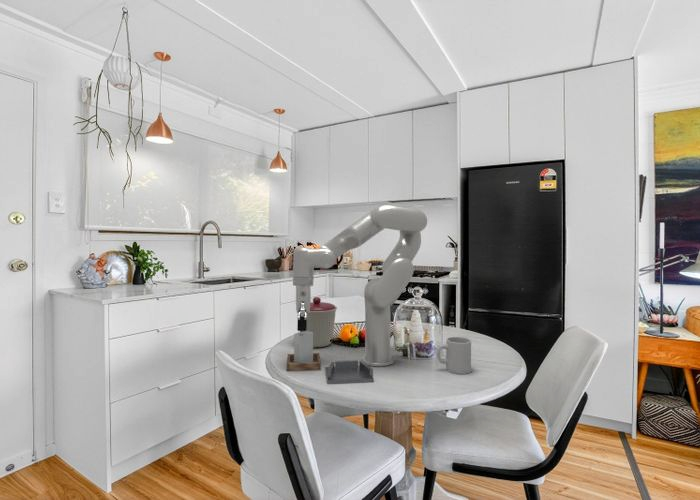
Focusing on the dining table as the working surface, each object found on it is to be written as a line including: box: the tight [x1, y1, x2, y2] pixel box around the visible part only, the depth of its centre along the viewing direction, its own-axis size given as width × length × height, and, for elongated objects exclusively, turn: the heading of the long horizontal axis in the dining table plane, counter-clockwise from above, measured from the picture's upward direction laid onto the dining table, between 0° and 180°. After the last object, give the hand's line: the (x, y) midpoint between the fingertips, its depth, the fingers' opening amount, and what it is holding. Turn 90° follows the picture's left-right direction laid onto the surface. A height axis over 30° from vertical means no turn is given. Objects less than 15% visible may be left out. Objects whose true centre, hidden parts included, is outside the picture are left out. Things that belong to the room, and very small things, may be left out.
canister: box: [299, 296, 338, 349], centre depth 168 cm, size 18×18×21 cm
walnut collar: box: [286, 352, 322, 372], centre depth 141 cm, size 12×12×2 cm
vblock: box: [324, 359, 375, 385], centre depth 130 cm, size 15×13×4 cm
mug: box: [436, 336, 472, 375], centre depth 136 cm, size 12×8×11 cm
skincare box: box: [293, 331, 314, 363], centre depth 141 cm, size 6×4×12 cm
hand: (301, 327), depth 140 cm, fingers open, 9 cm apart
